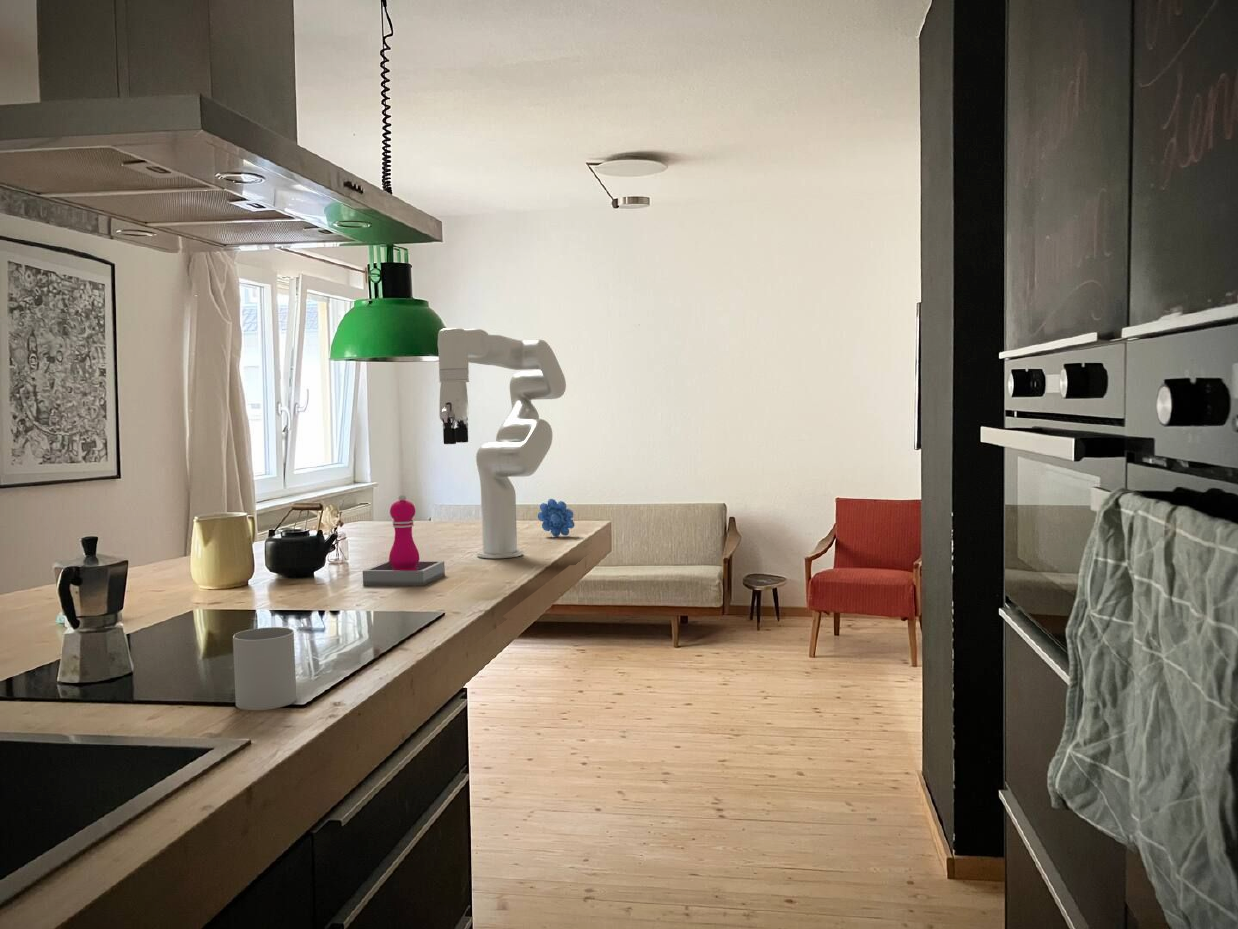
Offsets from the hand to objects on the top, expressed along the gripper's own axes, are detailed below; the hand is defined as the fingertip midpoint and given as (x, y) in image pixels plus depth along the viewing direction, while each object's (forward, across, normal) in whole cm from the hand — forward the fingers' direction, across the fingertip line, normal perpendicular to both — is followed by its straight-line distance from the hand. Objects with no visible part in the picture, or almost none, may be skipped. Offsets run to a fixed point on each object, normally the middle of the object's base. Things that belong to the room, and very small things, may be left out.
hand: (456, 443), depth 267 cm
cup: (+32, +119, +10) cm, 124 cm away
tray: (+32, +20, -8) cm, 38 cm away
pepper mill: (+32, +20, -7) cm, 38 cm away
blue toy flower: (+32, -59, +12) cm, 68 cm away
